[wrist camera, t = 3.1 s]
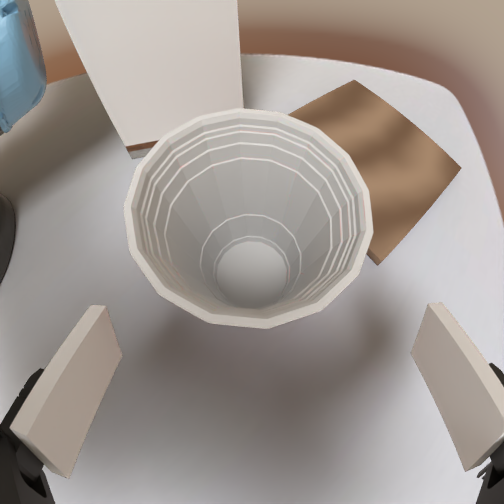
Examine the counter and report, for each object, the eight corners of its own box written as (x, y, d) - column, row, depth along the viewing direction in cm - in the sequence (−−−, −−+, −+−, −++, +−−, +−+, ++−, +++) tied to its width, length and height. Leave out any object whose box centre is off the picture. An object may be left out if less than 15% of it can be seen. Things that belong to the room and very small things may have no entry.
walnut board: (250, 143, 28) (250, 136, 27) (352, 85, 31) (354, 79, 30) (377, 265, 23) (381, 261, 22) (457, 172, 27) (461, 167, 26)
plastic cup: (335, 334, 22) (408, 303, 10) (190, 352, 21) (120, 339, 10) (310, 205, 25) (340, 97, 14) (183, 219, 25) (135, 118, 14)
